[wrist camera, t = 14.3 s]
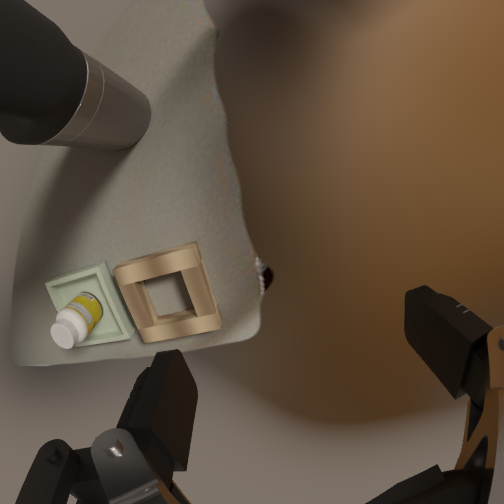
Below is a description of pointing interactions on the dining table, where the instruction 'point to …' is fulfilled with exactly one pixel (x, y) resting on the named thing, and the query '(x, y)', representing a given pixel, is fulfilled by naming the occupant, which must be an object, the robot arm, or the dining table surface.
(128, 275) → the holder block
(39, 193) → the dining table surface
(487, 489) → the robot arm
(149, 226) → the dining table surface
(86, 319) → the supplement bottle
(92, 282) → the tray
